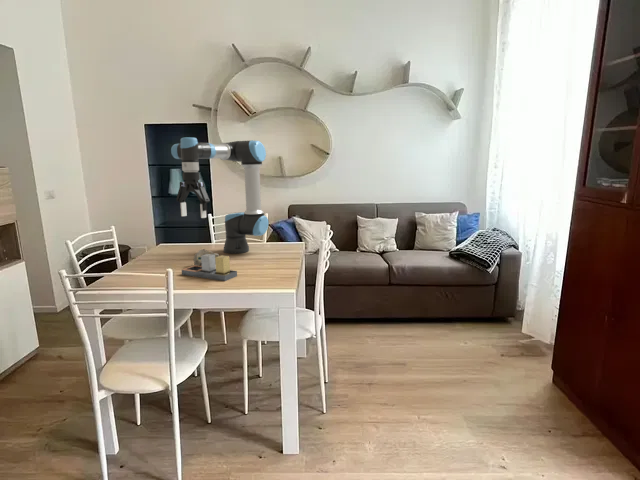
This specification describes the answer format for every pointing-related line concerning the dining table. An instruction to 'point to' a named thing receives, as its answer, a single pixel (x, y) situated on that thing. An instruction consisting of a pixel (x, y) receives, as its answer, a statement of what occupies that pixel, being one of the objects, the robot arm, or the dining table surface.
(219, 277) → the grey block rack
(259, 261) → the dining table surface
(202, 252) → the rock
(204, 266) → the grey square-ended block
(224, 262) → the tan rectangular block
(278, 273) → the dining table surface
